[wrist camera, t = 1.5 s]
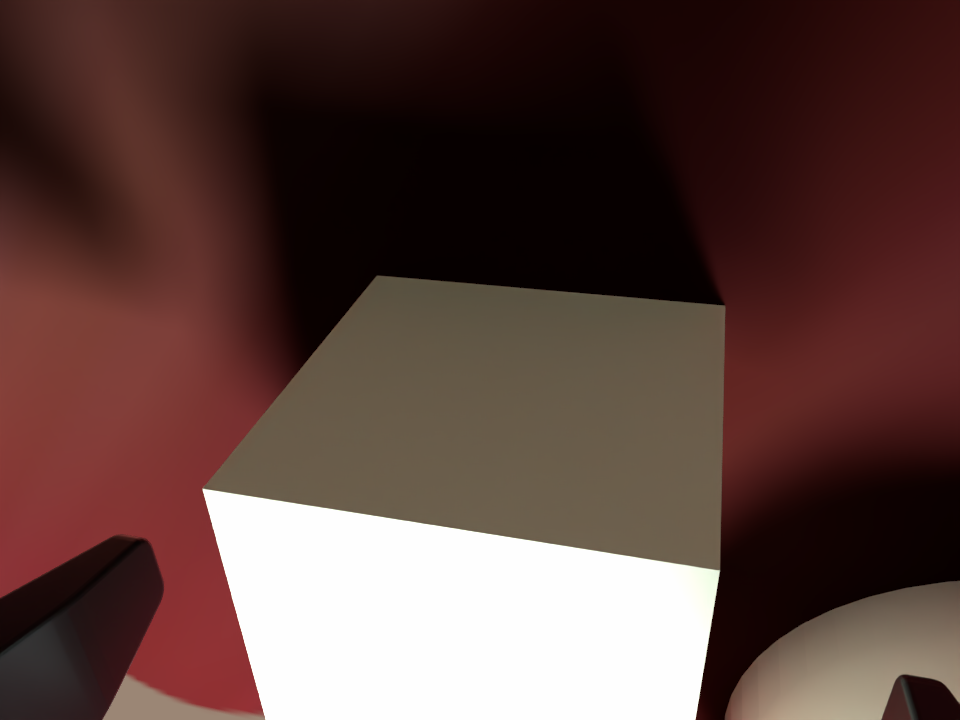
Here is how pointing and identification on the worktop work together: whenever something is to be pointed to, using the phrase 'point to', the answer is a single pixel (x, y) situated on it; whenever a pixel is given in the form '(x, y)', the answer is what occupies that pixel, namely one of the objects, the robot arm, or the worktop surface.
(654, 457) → the white cube
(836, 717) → the cream tin
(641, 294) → the worktop surface
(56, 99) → the worktop surface
